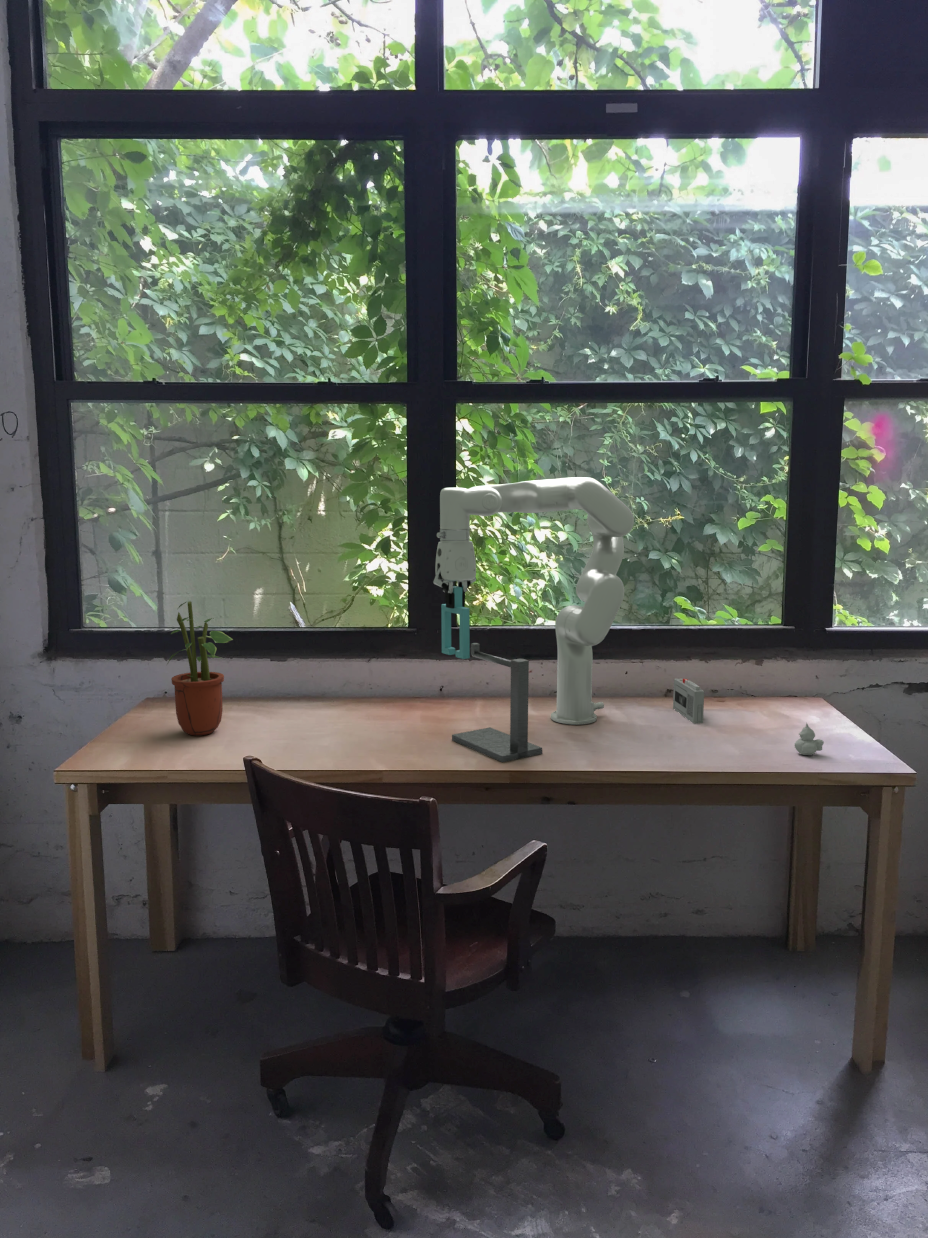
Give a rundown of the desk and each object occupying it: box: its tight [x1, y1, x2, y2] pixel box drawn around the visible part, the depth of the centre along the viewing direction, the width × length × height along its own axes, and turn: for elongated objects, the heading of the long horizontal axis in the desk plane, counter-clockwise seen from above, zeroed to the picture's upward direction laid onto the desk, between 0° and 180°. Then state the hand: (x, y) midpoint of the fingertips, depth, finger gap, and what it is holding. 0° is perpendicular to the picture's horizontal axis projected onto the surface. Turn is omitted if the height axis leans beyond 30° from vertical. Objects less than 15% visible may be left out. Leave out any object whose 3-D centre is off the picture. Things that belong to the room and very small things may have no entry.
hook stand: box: [451, 642, 543, 763], centre depth 222 cm, size 12×22×25 cm, turn 34°
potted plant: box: [166, 600, 234, 737], centre depth 236 cm, size 17×16×35 cm
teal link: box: [440, 585, 471, 660], centre depth 234 cm, size 10×2×18 cm, turn 35°
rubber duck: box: [794, 722, 825, 756], centre depth 217 cm, size 5×7×8 cm
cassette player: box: [672, 678, 705, 724], centre depth 252 cm, size 16×3×10 cm, turn 8°
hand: (455, 606), depth 234 cm, fingers closed on teal link, 2 cm apart
